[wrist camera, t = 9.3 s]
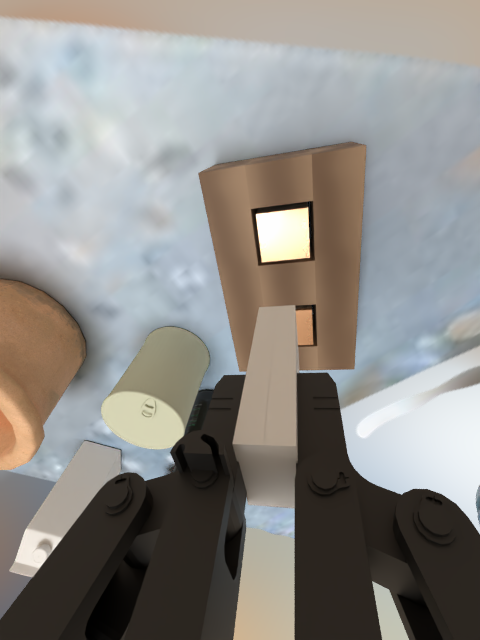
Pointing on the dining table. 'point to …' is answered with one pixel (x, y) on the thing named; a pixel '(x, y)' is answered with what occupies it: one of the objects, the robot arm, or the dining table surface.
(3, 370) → the pottery
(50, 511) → the milk carton
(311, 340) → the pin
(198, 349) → the can
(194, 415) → the supplement bottle
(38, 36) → the dining table surface
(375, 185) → the dining table surface
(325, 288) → the socket block
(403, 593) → the robot arm
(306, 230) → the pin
